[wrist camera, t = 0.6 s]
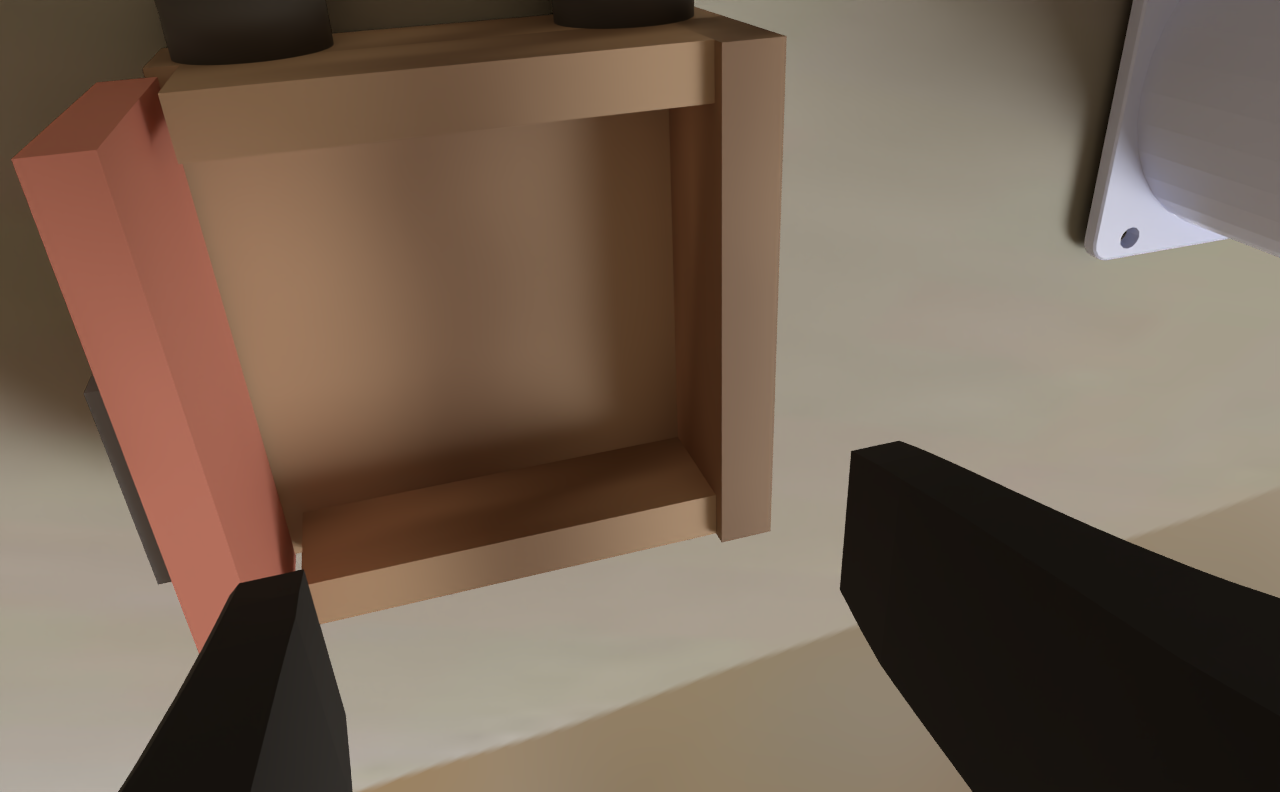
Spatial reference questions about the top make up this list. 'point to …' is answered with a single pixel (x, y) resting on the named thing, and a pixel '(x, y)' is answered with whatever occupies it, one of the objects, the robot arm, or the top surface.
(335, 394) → the box
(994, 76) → the top surface
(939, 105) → the top surface
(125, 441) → the panel
